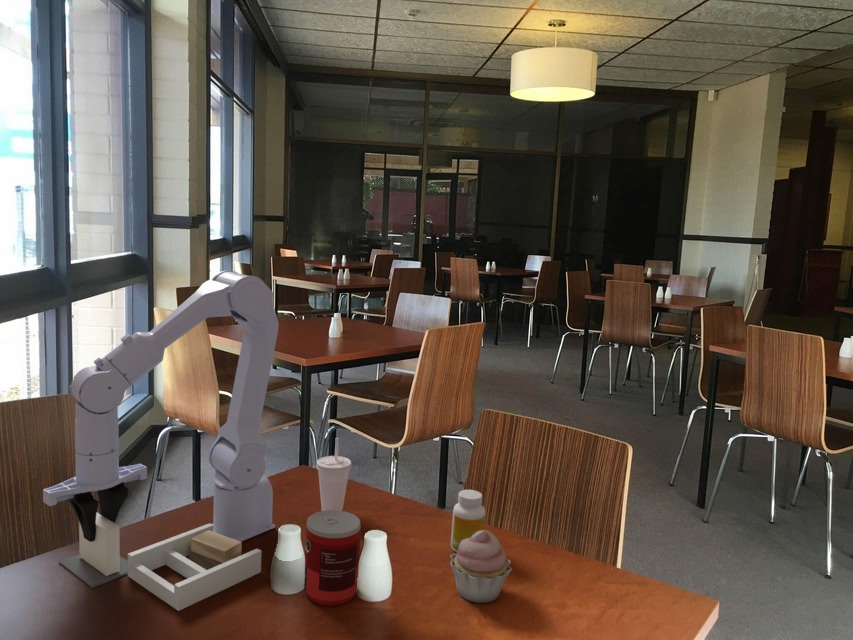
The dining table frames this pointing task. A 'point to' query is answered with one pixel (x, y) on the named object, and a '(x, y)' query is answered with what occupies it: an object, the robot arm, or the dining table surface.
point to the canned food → (332, 557)
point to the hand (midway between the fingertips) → (98, 536)
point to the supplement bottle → (467, 517)
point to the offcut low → (202, 560)
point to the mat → (92, 571)
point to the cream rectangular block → (102, 546)
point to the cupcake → (480, 567)
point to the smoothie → (333, 480)
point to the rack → (188, 570)
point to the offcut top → (216, 546)
